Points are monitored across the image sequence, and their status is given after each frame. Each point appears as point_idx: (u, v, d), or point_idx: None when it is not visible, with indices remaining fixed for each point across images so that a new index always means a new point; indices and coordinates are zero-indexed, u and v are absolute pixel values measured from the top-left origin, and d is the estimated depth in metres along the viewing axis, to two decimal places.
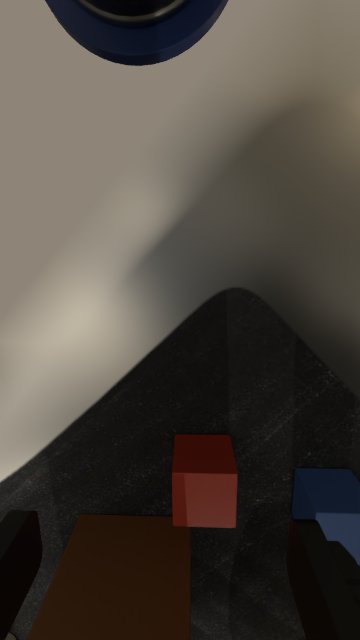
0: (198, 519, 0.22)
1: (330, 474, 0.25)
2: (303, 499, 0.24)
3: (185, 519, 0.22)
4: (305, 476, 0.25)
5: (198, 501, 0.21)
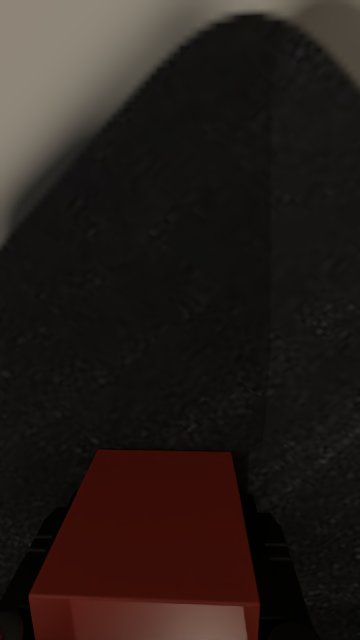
0: None
1: None
2: None
3: None
4: None
5: None
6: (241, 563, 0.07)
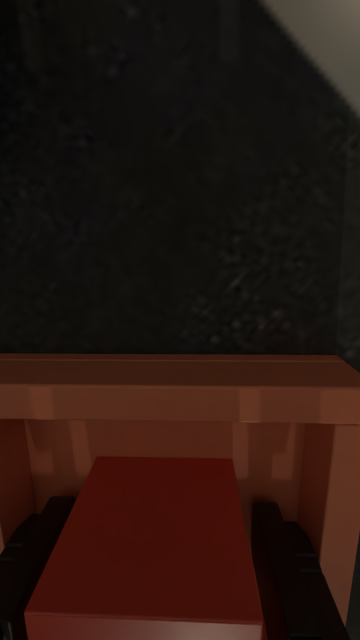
0: None
1: None
2: None
3: None
4: None
5: None
6: (243, 578, 0.06)
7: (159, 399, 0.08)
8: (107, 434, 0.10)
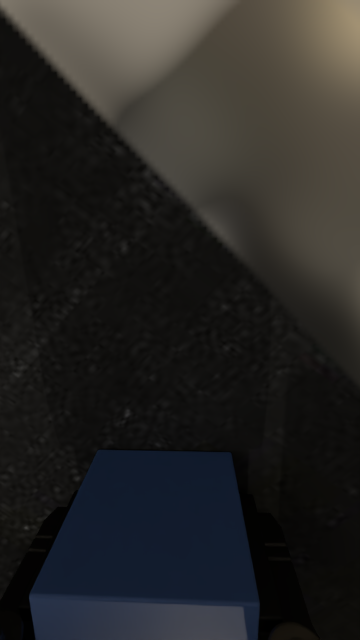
0: None
1: (172, 465, 0.09)
2: None
3: None
4: (103, 470, 0.09)
5: None
6: None
7: None
8: None
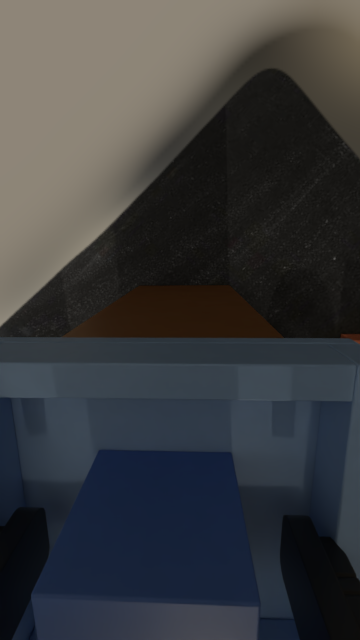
0: None
1: (173, 465, 0.10)
2: None
3: None
4: (104, 470, 0.09)
5: None
6: None
7: None
8: None
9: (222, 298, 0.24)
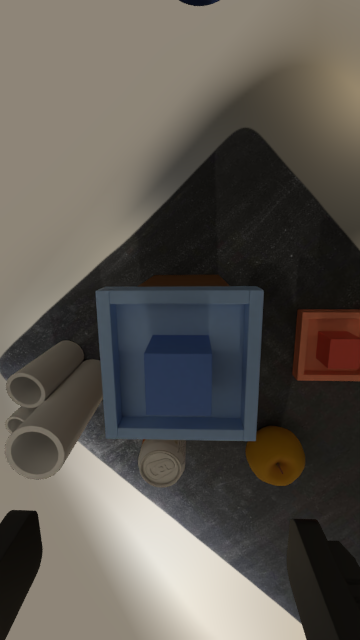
0: (340, 364, 0.44)
1: (184, 337, 0.23)
2: None
3: (334, 364, 0.45)
4: (157, 338, 0.23)
5: (342, 354, 0.44)
6: (358, 337, 0.44)
7: (340, 314, 0.46)
8: (321, 326, 0.48)
9: (211, 280, 0.38)
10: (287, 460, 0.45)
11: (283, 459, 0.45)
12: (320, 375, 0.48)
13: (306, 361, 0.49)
